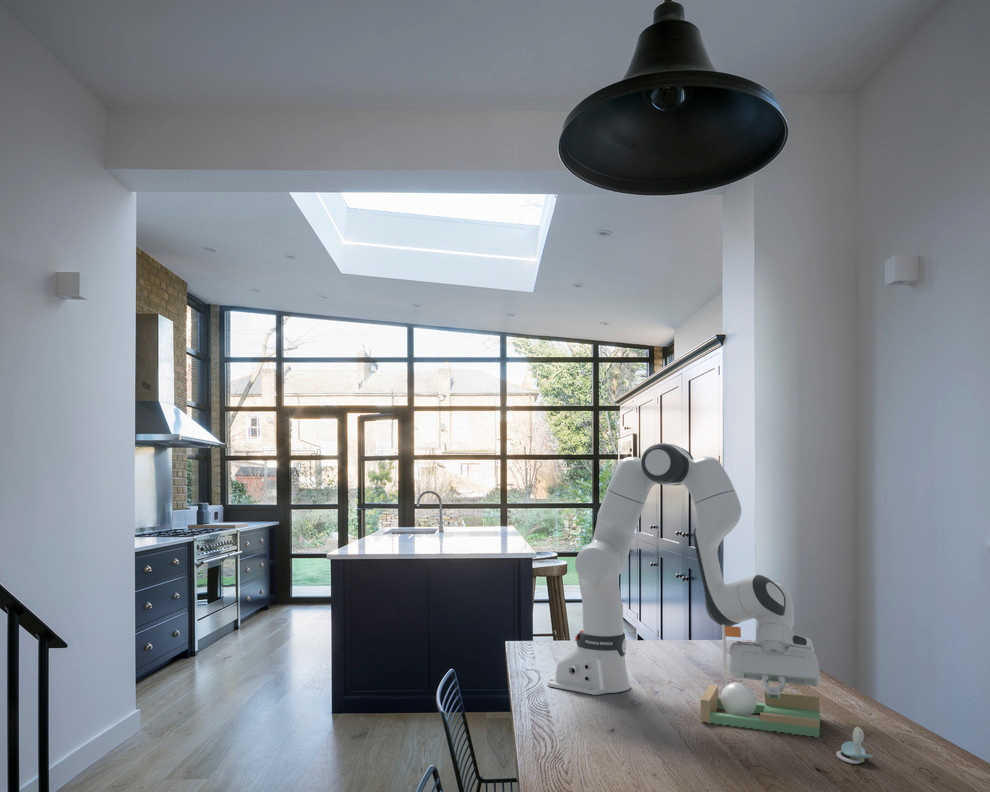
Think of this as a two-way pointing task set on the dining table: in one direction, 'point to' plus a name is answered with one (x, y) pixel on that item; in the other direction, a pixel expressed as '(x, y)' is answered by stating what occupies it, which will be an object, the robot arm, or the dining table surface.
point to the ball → (738, 699)
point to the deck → (764, 706)
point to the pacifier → (854, 748)
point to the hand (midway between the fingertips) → (773, 696)
